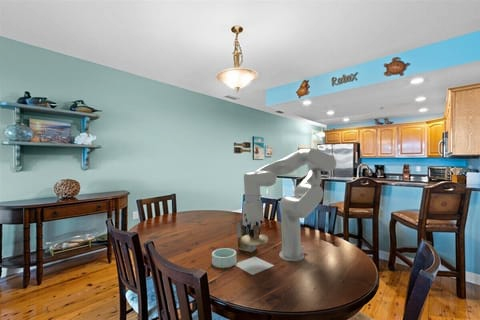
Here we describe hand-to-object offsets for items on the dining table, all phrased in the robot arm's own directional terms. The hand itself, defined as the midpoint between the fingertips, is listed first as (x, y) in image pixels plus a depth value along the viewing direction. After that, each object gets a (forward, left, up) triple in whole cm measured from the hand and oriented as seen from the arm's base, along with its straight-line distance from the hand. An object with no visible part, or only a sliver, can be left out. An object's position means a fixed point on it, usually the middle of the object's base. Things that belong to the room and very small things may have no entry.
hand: (254, 235), depth 115 cm
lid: (0, 0, -2) cm, 2 cm away
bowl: (+10, -12, -15) cm, 21 cm away
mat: (+1, 0, -15) cm, 15 cm away
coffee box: (-10, -18, -15) cm, 26 cm away
